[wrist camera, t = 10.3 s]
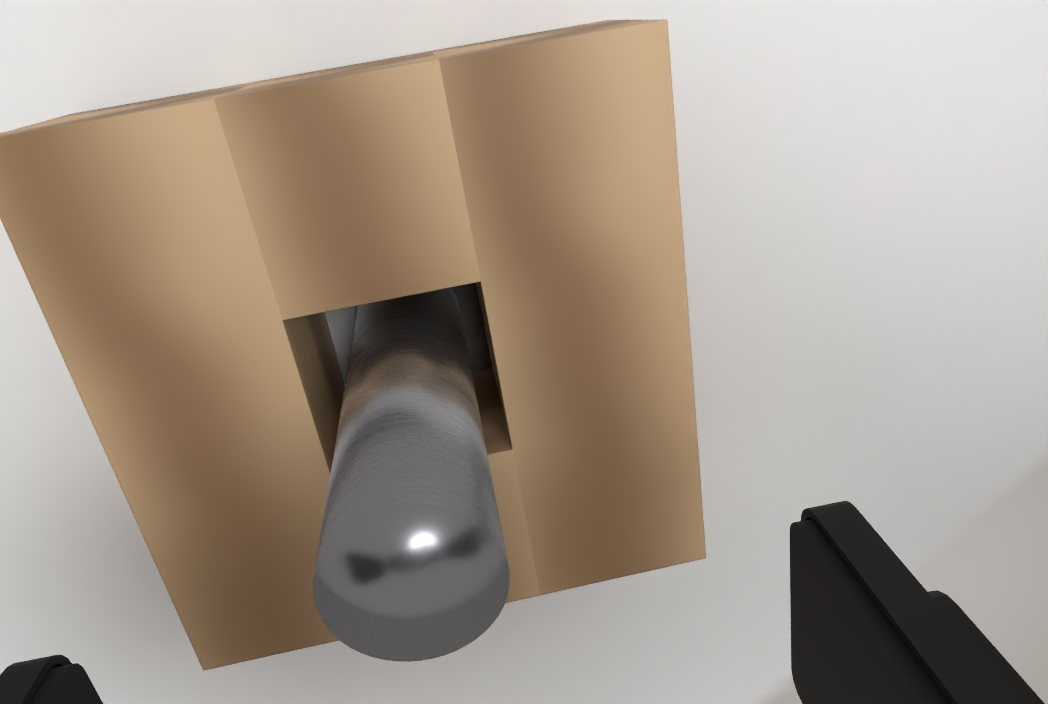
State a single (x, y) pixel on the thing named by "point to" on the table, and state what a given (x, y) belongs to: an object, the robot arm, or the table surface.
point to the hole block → (370, 276)
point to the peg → (410, 491)
